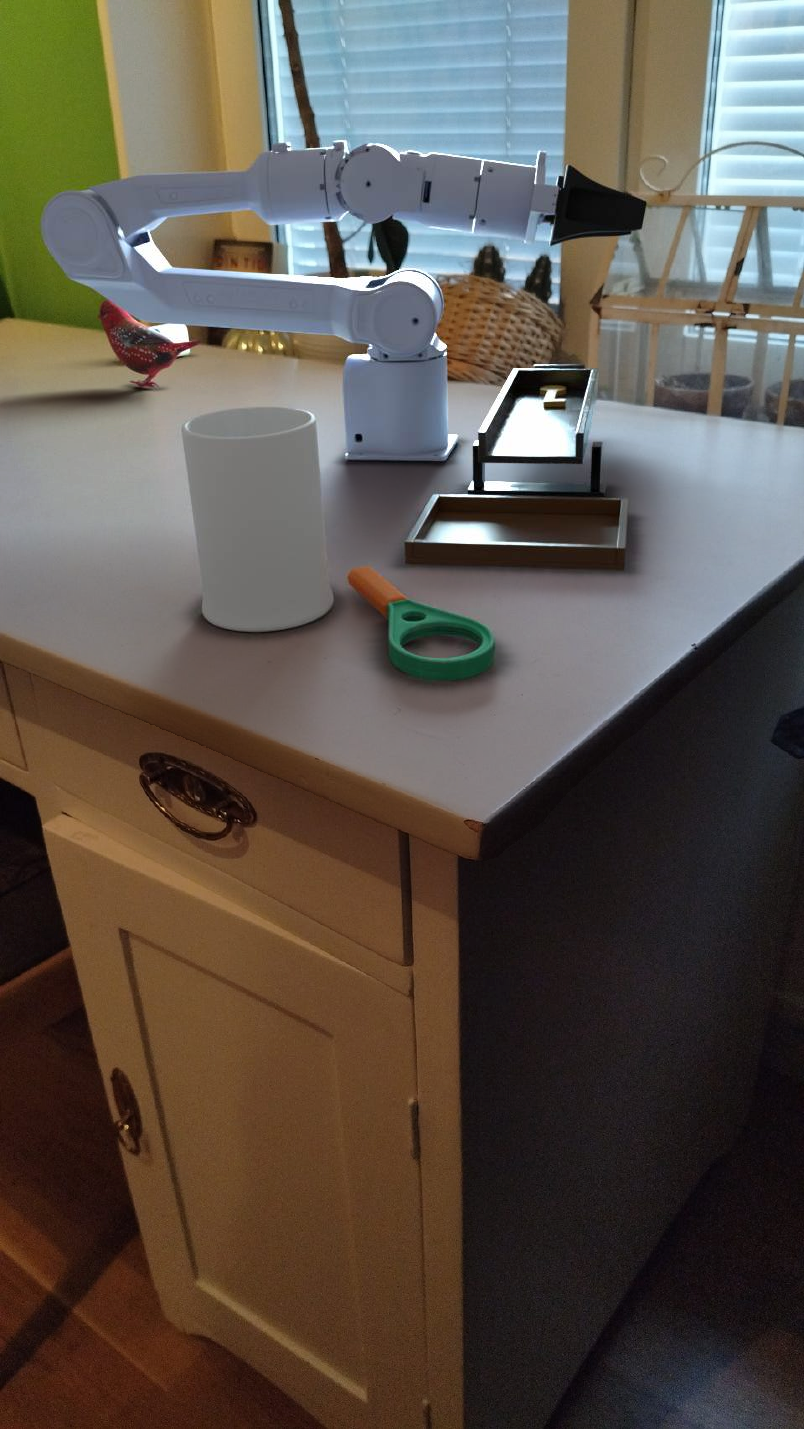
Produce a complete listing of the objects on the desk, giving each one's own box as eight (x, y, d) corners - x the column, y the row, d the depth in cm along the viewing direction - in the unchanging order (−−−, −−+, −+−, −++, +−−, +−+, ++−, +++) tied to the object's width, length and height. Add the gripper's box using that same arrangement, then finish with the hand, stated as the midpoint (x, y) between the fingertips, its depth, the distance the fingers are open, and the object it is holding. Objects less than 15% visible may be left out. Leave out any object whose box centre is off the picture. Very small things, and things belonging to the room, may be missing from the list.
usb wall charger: (190, 355, 153) (186, 325, 151) (149, 363, 149) (144, 332, 147) (173, 352, 155) (169, 322, 153) (132, 360, 151) (127, 330, 149)
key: (534, 407, 98) (534, 401, 98) (541, 390, 104) (541, 385, 104) (565, 407, 98) (565, 401, 97) (570, 390, 103) (570, 385, 103)
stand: (467, 494, 91) (466, 446, 89) (471, 486, 93) (471, 439, 92) (604, 497, 89) (606, 448, 87) (605, 488, 91) (607, 440, 89)
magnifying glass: (515, 666, 62) (516, 639, 62) (419, 690, 60) (419, 662, 59) (402, 581, 75) (401, 557, 74) (319, 599, 72) (317, 574, 72)
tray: (405, 563, 78) (404, 541, 77) (432, 513, 87) (432, 493, 87) (624, 570, 75) (625, 548, 74) (628, 518, 84) (629, 497, 84)
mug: (169, 585, 76) (142, 409, 70) (283, 560, 79) (266, 390, 74) (230, 644, 67) (205, 447, 61) (356, 613, 70) (343, 424, 64)
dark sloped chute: (478, 463, 85) (477, 432, 84) (519, 381, 111) (519, 357, 110) (582, 464, 83) (584, 433, 82) (600, 381, 109) (601, 356, 108)
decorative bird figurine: (117, 380, 140) (103, 297, 136) (217, 393, 131) (206, 304, 126) (99, 384, 138) (85, 300, 134) (199, 398, 129) (188, 308, 124)
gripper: (485, 132, 85) (660, 156, 85) (487, 155, 99) (637, 175, 98) (471, 231, 88) (641, 255, 87) (475, 240, 101) (621, 260, 101)
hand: (638, 219), depth 93 cm, fingers open, 7 cm apart
